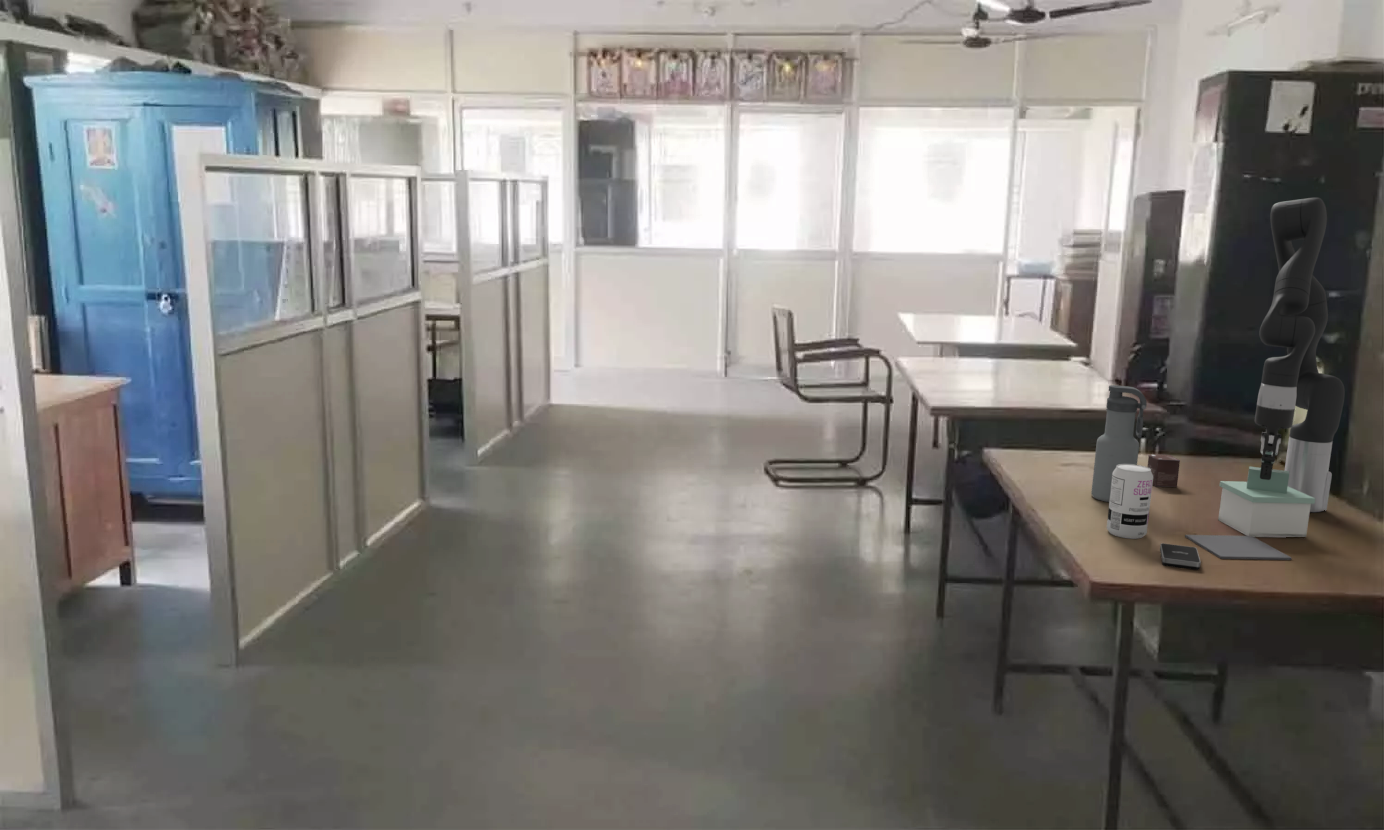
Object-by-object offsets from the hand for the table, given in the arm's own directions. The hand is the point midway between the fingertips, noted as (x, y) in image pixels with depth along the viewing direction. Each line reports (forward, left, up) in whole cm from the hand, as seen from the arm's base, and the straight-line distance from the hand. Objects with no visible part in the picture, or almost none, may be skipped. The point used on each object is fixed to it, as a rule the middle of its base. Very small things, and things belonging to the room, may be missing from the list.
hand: (1265, 475), depth 245 cm
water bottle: (+23, -24, -13) cm, 36 cm away
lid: (0, 0, -4) cm, 4 cm away
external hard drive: (+30, +24, -13) cm, 41 cm away
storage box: (-1, 0, -12) cm, 12 cm away
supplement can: (+33, +6, -13) cm, 36 cm away
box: (+3, -40, -13) cm, 42 cm away
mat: (+13, +15, -12) cm, 24 cm away
